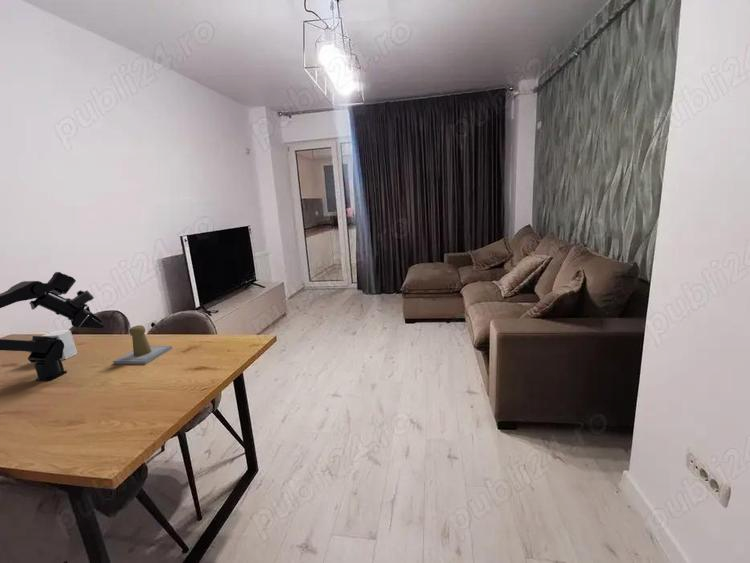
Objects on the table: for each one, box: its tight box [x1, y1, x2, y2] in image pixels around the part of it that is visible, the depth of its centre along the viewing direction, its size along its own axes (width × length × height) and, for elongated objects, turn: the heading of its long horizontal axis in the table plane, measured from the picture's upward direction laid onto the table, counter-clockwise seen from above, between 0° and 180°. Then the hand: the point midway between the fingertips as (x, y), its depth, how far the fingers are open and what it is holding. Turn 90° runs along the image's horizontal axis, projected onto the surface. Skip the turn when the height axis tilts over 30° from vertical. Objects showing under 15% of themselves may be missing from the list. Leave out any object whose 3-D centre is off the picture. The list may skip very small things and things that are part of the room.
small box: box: [41, 330, 78, 361], centre depth 148 cm, size 8×6×10 cm
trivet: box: [112, 345, 173, 365], centre depth 143 cm, size 14×14×1 cm
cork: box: [128, 325, 151, 356], centre depth 142 cm, size 6×6×11 cm
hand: (102, 324), depth 142 cm, fingers open, 9 cm apart
